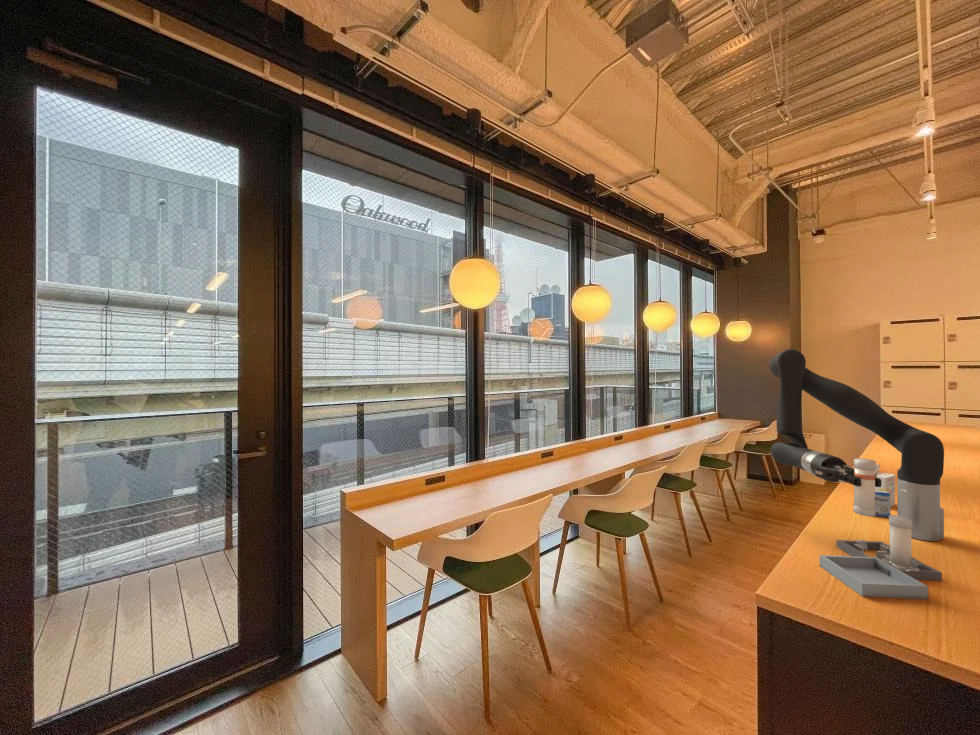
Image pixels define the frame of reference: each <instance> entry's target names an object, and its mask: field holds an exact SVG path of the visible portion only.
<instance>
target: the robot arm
mask: <svg viewBox="0 0 980 735" xmlns="http://www.w3.org/2000/svg"><path fill="white" fill-rule="evenodd" d="M806 363H807V360H806V356H805V355H804V354H803V353H802V352H801V351H799V350H797V349H793V348H789V349H784V350H782V351H780V352H778V353H776V355H774V356H773V357H772V358H771V359H770V360H769V363H768V368H769V371H770V372H771V374H773V375H774V376H775V377H777V378H779V381H780V383H779V384H780V385H779V386H780V387H779V397H778V400H777V401H778V402H777V405H776V419H775V420H776V432H777V434H779V435H780V436H784V437H787V438H788V439H789V441H790V442H787V441H786V442H785V441H778V442H775V443H773V444H772V445H771V447H770V450H769V451H770V455H771V457H772V458H773V460H774V461H776V462H777V463H780V464H782V465H787V466H791V467H795V468H798V469H800V470H802V471H805V472H807V473H809V474H811V475H812V476H814V477H817V478H819V479H821V480H824V481H827V482H829V483H839V482H840V483H841V482H842V483H843V484H850V485H852V486H854V485H855V486H861V479H860V478H858V477H855V476H854V467H853V466H850V465H848V464H847V463H846V462H845V461H844V459H842V458H841V457H839V456H835V455H832V454H828V453H826V452H822V451H819V450H818V451H817V450H814V449H811V448H809V447H808V444H807V441H806V438H805V436H804V433H803V422H802V420H803V419H802V391H803V392H805V393H806V394H808V395H809V396H811V397H812V398H814V399H815V400H817V401H818V402H820V403H822V404H823V405H825V406H826V407H828V408H829V409H830V410H832V411H834V412H836V413H837V414H838V415H840V416H842V417H844V418H845V419H847V420H849V421H851V422H853V423H854V424H856V425H859V426H860V427H863V428H865V429H867V430H869V431H871V432H873V433H874V434H876V435H877V436H878V437H880V438H881V439H883V440H884V441H886V442H887V443H888V444H889V445H890V446H892V447H893V448H895V450H896V451H898V452H899V453H900V454H901V458H900V459H901V462H900V466H899V469H897V474H896V475H897V478H896V479H897V480H896V482H897V483H896V486H897V487H896V488H897V489H896V492H897V495H896V496H897V497H896V500H897V504H896V505H897V506H896V507H897V508H896V510H897V513H896V515H897V516H903V517H907V518H909V519H911V520H912V529H911V539H912V538H913V539H916V540H921V541H927V542H938V541H940V540H945V510H944V508H943V507H941V478H942V477H943V474H944V467H945V466H944V465H945V464H944V463H945V448H944V444H943V442H942V440H941V439H940V438H939V437H938V436H936V435H934V434H932V433H930V432H927V431H924V430H921V429H918V428H917V427H914V426H911V425H909V424H908V423H906V422H903V421H902V420H900V419H899V418H896V417H895V416H893V415H891V414H889V413H888V411H886V410H885V409H884V408H882V406H880V405H879V404H878V403H876V402H875V401H874V400H872V399H871V398H870V397H868V395H867V396H866V395H865V394H863V393H862V392H860V391H858V390H857V389H855V388H854V387H852V386H849V385H848V384H845V383H843V382H839V381H837V380H834V379H831V378H828V377H824V376H822V375H819V374H817V373H815V372H813V371H812V370H810V369H809V368H808V367H806ZM875 475H876V476H877V474H876V473H875ZM875 486H876V487H881V479H880V478H877V477H876V479H875Z"/></svg>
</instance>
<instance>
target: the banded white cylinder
mask: <svg viewBox="0 0 980 735" xmlns="http://www.w3.org/2000/svg"><path fill="white" fill-rule="evenodd" d="M876 465H877V461H875V460H874V459H869V458H859V457H858V458H854V459H853V468H854V476H855V477H858V478H860V479H861V486H855V485H853V510H852V512H853V513H855V514H856V515H860V516H865V517H876V516H875V479H876V475H875V470H876Z"/></svg>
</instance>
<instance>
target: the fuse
mask: <svg viewBox="0 0 980 735" xmlns="http://www.w3.org/2000/svg"><path fill="white" fill-rule="evenodd" d="M888 525H889V546H890V560H889V562H890V563H892V566H893V567H895V568H896V569H906V567H910V568H912V558H913V557H912V537H911V529H912V520H911V519H909V518H907V517H903V516H897V514H896V515H895V514H890V515H889V517H888Z"/></svg>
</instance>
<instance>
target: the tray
mask: <svg viewBox="0 0 980 735" xmlns="http://www.w3.org/2000/svg"><path fill="white" fill-rule="evenodd" d="M874 562H876V563H878V564H879V565H881V566H883V567H885V568H886V569H888V570H890V576H888V575H886V574H885V573H883V572H881V571H879V570H878V569H876V568H874ZM819 567H820V568H822V569H823V570H825V571H826V572H828V573H829V574H830V575H832V576H833V577H834V578H836V579H837V580H839V581H840V582H842V583H843V584H844V585H845V586H847V587H848V588H850V589H851V590H853V591H854V592H855V593H857V594H859V596H861V597H870V598H871V597H872V598H875V597H876V598H892V599H912V600H913V599H915V600H929V586H928V585H926V584H924V583H923V582H921V581H920V580H918V579H914V578H912V577H910V576H909V575H907V574H905V573H903V572H902V571H900V570H898V569H896V568H895V567H893V566H891V565H889V564H888V563H886V562H884V561H882V560H880V559H879V558H877V557H876V556H869V557H859V556H851V555H834V554H833V555H827V554H819Z"/></svg>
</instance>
